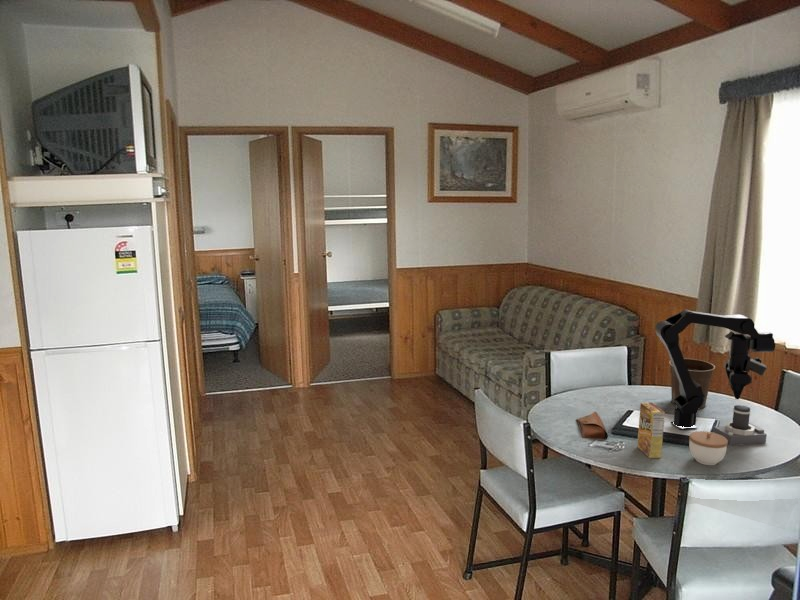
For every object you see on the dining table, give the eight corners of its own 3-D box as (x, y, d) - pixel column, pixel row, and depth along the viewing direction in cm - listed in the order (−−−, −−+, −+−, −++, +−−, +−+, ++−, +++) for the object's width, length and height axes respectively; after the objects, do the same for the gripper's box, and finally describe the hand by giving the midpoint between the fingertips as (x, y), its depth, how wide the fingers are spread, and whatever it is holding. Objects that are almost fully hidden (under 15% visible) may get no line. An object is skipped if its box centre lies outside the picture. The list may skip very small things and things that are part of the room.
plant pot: (711, 414, 238) (715, 372, 235) (664, 407, 245) (667, 367, 242) (711, 400, 253) (715, 361, 249) (667, 394, 259) (670, 356, 256)
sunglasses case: (574, 418, 234) (584, 404, 233) (590, 428, 234) (601, 414, 233) (582, 438, 217) (593, 422, 215) (600, 449, 217) (611, 433, 215)
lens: (749, 434, 212) (751, 410, 210) (732, 432, 214) (734, 408, 212) (747, 428, 217) (749, 405, 215) (730, 426, 218) (732, 403, 217)
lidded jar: (716, 454, 204) (719, 426, 202) (731, 469, 194) (734, 440, 192) (682, 453, 205) (684, 425, 203) (695, 468, 194) (697, 439, 192)
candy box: (636, 447, 210) (639, 402, 207) (648, 446, 210) (652, 402, 207) (649, 458, 201) (652, 412, 198) (662, 457, 201) (665, 411, 199)
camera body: (730, 445, 210) (731, 432, 209) (712, 434, 219) (714, 422, 218) (765, 442, 212) (767, 430, 212) (747, 432, 221) (748, 419, 220)
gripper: (771, 361, 209) (766, 406, 212) (761, 346, 226) (756, 389, 229) (733, 357, 213) (728, 402, 216) (726, 344, 230) (722, 385, 233)
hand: (735, 394), depth 223 cm, fingers open, 9 cm apart
